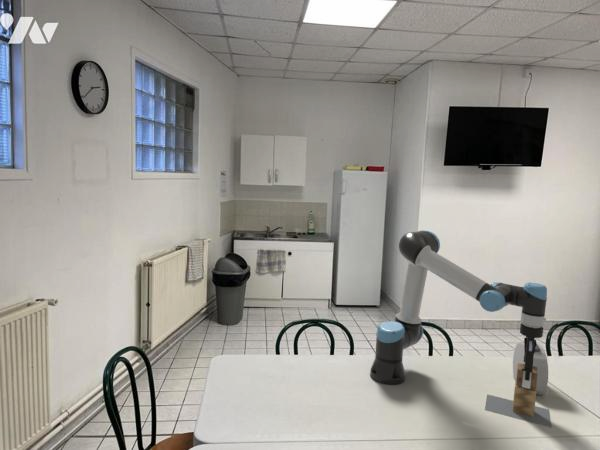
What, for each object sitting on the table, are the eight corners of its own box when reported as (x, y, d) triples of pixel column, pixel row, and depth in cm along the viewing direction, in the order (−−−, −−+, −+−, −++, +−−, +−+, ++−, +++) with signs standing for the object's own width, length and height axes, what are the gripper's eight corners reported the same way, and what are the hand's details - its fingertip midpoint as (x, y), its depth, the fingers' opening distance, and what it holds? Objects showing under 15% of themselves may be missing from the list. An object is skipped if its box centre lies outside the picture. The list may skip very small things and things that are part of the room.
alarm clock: (546, 400, 172) (551, 353, 170) (526, 397, 173) (531, 351, 171) (528, 377, 192) (533, 334, 190) (511, 374, 194) (515, 333, 192)
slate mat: (484, 410, 161) (484, 409, 161) (487, 395, 174) (487, 394, 173) (551, 428, 151) (551, 427, 151) (548, 410, 164) (549, 409, 164)
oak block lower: (512, 411, 161) (513, 399, 160) (512, 405, 165) (514, 393, 165) (533, 417, 158) (535, 404, 157) (533, 410, 162) (534, 398, 162)
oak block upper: (513, 399, 160) (515, 386, 160) (514, 393, 165) (515, 381, 164) (535, 404, 157) (536, 391, 157) (534, 398, 162) (535, 385, 161)
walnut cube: (516, 385, 159) (517, 369, 158) (516, 379, 165) (517, 363, 164) (535, 390, 156) (537, 373, 155) (535, 383, 162) (536, 367, 161)
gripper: (544, 334, 148) (538, 397, 150) (542, 319, 165) (536, 376, 167) (520, 330, 151) (514, 391, 153) (520, 316, 168) (514, 371, 171)
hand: (525, 383), depth 160 cm, fingers closed on walnut cube, 6 cm apart
